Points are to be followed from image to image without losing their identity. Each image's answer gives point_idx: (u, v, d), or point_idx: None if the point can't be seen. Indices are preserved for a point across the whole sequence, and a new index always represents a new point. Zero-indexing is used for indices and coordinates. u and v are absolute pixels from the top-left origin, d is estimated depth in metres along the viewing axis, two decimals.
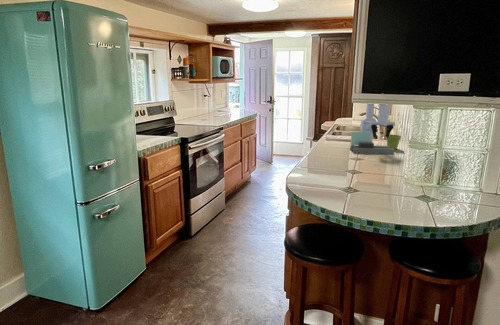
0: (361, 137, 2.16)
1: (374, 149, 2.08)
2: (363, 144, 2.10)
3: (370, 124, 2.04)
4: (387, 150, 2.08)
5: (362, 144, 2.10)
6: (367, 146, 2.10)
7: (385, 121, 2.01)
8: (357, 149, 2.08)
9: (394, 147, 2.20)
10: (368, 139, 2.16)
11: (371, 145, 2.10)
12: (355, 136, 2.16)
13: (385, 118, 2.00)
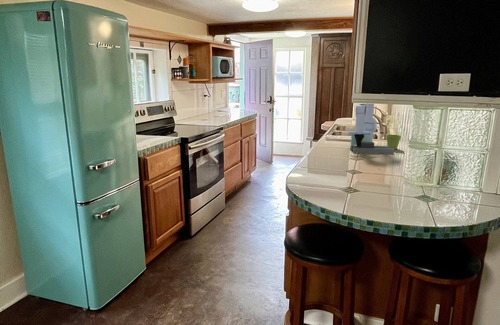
0: None
1: (374, 149, 2.08)
2: (364, 144, 2.10)
3: (347, 133, 2.10)
4: (387, 150, 2.08)
5: (363, 144, 2.10)
6: (368, 146, 2.10)
7: (362, 131, 2.07)
8: (357, 149, 2.08)
9: (394, 147, 2.20)
10: (368, 139, 2.16)
11: (372, 145, 2.10)
12: None
13: (362, 128, 2.07)
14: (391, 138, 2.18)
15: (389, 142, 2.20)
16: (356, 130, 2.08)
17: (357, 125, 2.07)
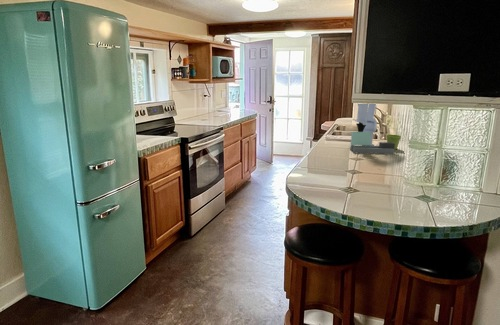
0: (361, 137, 2.16)
1: (374, 149, 2.08)
2: (384, 144, 2.10)
3: None
4: (387, 150, 2.08)
5: (383, 144, 2.10)
6: (388, 146, 2.10)
7: (357, 119, 2.14)
8: (357, 149, 2.08)
9: (394, 147, 2.20)
10: (368, 139, 2.16)
11: (392, 146, 2.10)
12: (355, 136, 2.16)
13: (357, 116, 2.14)
14: (391, 138, 2.18)
15: None
16: None
17: None
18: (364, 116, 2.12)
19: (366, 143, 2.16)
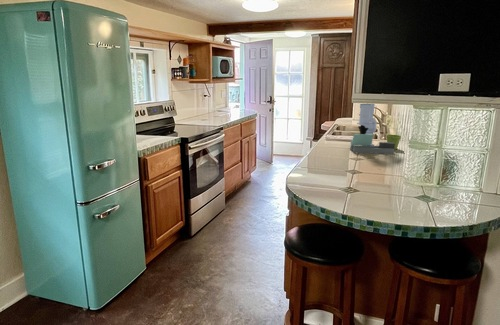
0: (363, 139, 2.13)
1: (374, 149, 2.08)
2: (384, 144, 2.10)
3: (359, 123, 2.18)
4: (387, 150, 2.08)
5: (383, 144, 2.10)
6: (388, 146, 2.10)
7: (360, 121, 2.10)
8: (357, 149, 2.08)
9: (394, 147, 2.20)
10: (369, 140, 2.14)
11: (392, 146, 2.10)
12: (357, 138, 2.13)
13: (360, 118, 2.10)
14: (391, 138, 2.18)
15: None
16: None
17: None
18: (366, 119, 2.07)
19: (366, 144, 2.15)
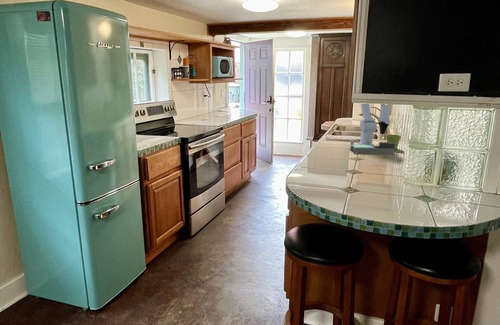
0: None
1: (374, 149, 2.08)
2: (384, 144, 2.10)
3: None
4: (387, 150, 2.08)
5: (383, 144, 2.10)
6: (388, 146, 2.10)
7: (380, 118, 2.14)
8: (357, 149, 2.08)
9: (394, 147, 2.20)
10: None
11: (392, 146, 2.10)
12: None
13: (380, 115, 2.13)
14: (391, 138, 2.18)
15: None
16: None
17: None
18: (387, 115, 2.11)
19: None
